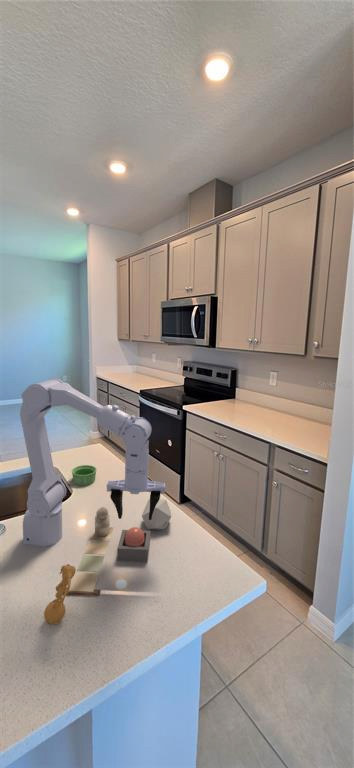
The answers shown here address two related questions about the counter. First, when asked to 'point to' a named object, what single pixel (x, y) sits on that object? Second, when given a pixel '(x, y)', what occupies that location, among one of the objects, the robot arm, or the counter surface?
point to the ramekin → (84, 474)
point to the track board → (90, 567)
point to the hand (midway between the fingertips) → (135, 517)
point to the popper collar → (133, 549)
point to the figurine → (59, 596)
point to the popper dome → (134, 537)
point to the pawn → (102, 522)
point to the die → (157, 515)
